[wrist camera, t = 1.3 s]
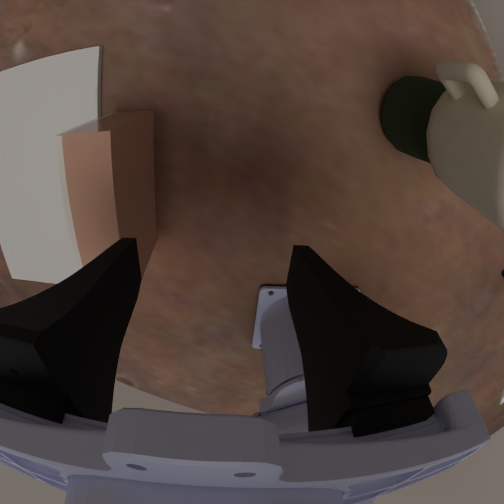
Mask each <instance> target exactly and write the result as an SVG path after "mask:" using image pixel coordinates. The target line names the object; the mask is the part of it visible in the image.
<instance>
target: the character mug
mask: <svg viewBox="0 0 504 504" xmlns="http://www.w3.org/2000/svg"><path fill="white" fill-rule="evenodd" d="M434 71H435V73H436V75H437V77H438V78H439V80H440V81H441V83H440V82H438V81H435V80H431V79H428V78H424V77H416V76H405V77H404V78H402V79H401V80H399V81H398V82H397V83H395V84H394V85H393V86H392V88H391V89H390V91H389V93H388V95H387V97H386V98H385V100H384V106H383V113H382V123H383V126H384V130H385V134H386V137H387V138H388V139H389V141H390V142H391V143H392V144H393V145H394V146H395V148H396V149H397V150H399V151H401V152H404V153H406V154H408V155H411V156H413V157H416V158H418V159H421V160H423V161H426V162H429V163H431V165H432V167H433V170H434V172H435V175H436V176H437V177H438V178H439V179H440V180H441V181H442V182H443V183H444V184H445V185H446V186H447V187H448V188H449V189H451V190H452V191H453V192H454V193H455V194H456V195H458V196H459V197H460V198H462V199H463V200H465V201H466V202H467V203H469V204H470V205H471V206H472V207H474V208H475V209H476V210H478V211H479V212H480V213H481V214H483V215H484V216H485V217H486V218H488V219H489V220H490V221H491V222H493V223H494V224H495V225H496V226H497V227H499V228H500V229H501V230H502V231H503V232H504V82H498V81H494V80H490V79H489V78H488V76H487V74H486V73H485V72H484V70H483V69H482V68H481V67H480V66H479V65H477V64H475V63H473V62H466V61H454V60H443V61H439V62H437V63H435V65H434Z"/></svg>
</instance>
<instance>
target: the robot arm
mask: <svg viewBox="0 0 504 504" xmlns="http://www.w3.org/2000/svg"><path fill="white" fill-rule="evenodd" d="M141 280H142V277H141V270H140V263H139V256H138V248H137V240H136V238H121V239H119V240H118V241H117V242H115V243H114V244H113V245H111V246H110V247H109V248H107V249H106V250H105V251H104V252H102V253H101V254H100V255H98V256H97V257H96V258H95V259H93V260H92V261H91V262H89V263H88V264H86V265H85V266H84V267H82V268H81V269H79V270H78V271H77V272H75V273H74V274H72V275H71V276H69V277H68V278H66V279H65V280H63V281H61V282H60V283H58V284H56V285H54V286H53V287H51V288H49V289H47V290H45V291H43V292H41V293H39V294H37V295H35V296H32V297H30V298H28V299H26V300H23V301H20V302H18V303H15V304H12V305H10V306H6V307H3V308H0V462H2V463H4V464H5V465H7V466H9V467H12V468H13V469H15V470H17V471H19V472H21V473H23V474H26V475H28V476H30V477H32V478H34V479H37V480H39V481H41V482H43V483H46V484H48V485H51V486H54V487H56V488H58V489H61V490H64V491H66V492H67V493H66V500H65V504H373V503H374V501H375V500H376V499H377V498H378V497H379V496H380V495H384V494H387V493H390V492H392V491H395V490H398V489H401V488H403V487H406V486H409V485H412V484H414V483H417V482H419V481H421V480H424V479H427V478H429V477H431V476H434V475H436V474H438V473H441V472H443V471H445V470H447V469H450V468H452V467H454V466H455V465H457V464H458V463H460V462H461V461H463V460H464V459H465V458H467V457H469V456H470V455H471V454H473V453H474V452H476V451H477V450H479V449H480V448H481V447H483V446H484V445H485V444H486V443H488V442H489V441H490V439H491V438H490V436H489V433H488V431H487V428H486V426H485V424H484V422H483V419H482V417H481V415H480V413H479V411H478V408H477V406H476V404H475V402H474V400H473V398H472V396H471V394H470V392H469V390H468V389H465V390H462V391H459V392H456V393H453V394H449V395H447V396H445V397H444V398H442V399H441V400H440V401H439V402H438V403H437V404H436V405H435V407H434V408H433V406H432V404H431V402H430V399H429V397H428V395H430V393H431V388H430V386H429V384H428V383H429V382H430V381H431V380H432V379H433V377H434V376H435V375H436V374H437V372H438V371H439V370H440V368H441V367H442V365H443V364H444V362H445V360H446V357H447V349H446V347H445V345H444V344H443V342H442V340H441V338H440V337H439V335H438V333H437V332H436V331H434V330H432V329H429V328H426V327H424V326H421V325H418V324H416V323H413V322H411V321H409V320H407V319H405V318H403V317H400V316H398V315H396V314H395V313H393V312H391V311H389V310H387V309H386V308H384V307H382V306H380V305H379V304H377V303H375V302H374V301H372V300H371V299H369V298H368V297H367V296H365V295H364V294H362V293H361V291H360V289H359V288H354V287H353V286H352V285H351V284H349V283H348V282H347V281H346V280H345V279H343V278H342V277H341V276H340V275H339V274H338V273H337V272H336V271H334V270H333V269H332V268H331V267H330V266H329V265H328V264H327V263H326V262H325V261H324V260H323V259H322V258H321V257H320V256H319V255H318V254H317V253H316V252H315V251H314V250H312V249H311V248H310V247H309V246H302V245H294V246H293V252H292V257H291V262H290V267H289V272H288V277H287V282H286V287H281V286H263V287H261V288H260V290H259V296H258V303H257V310H256V318H255V325H254V332H253V339H252V347H253V348H257V349H262V354H263V364H264V373H265V383H266V393H267V397H265V398H262V399H260V412H257V413H254V414H253V415H252V416H248V415H231V414H200V413H184V412H172V411H161V410H153V409H143V408H122V409H120V410H118V411H115V412H113V413H112V401H113V391H114V383H115V377H116V370H117V364H118V359H119V354H120V349H121V345H122V341H123V338H124V335H125V332H126V329H127V327H128V324H129V321H130V318H131V315H132V312H133V310H134V307H135V304H136V301H137V298H138V293H139V289H140V284H141ZM269 291H273V292H272V293H269Z"/></svg>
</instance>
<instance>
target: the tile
mask: <svg viewBox="0 0 504 504" xmlns="http://www.w3.org/2000/svg"><path fill="white" fill-rule="evenodd" d="M55 142H56V153H57V162H58V171H59V179H60V186H61V192H62V199H63V205H64V210H65V216H66V221H67V226H68V231H69V235H70V240H71V244H72V249H73V253H74V257H75V261H76V265H77V269H78V270H79V269H81V268H82V267H84V266H85V265H86V264H88V263H89V262H91V261H92V260H93V259H95V258H96V257H97V256H98V255H100V254H101V253H102V252H104V251H105V250H106V249H107V248H109V247H110V246H111V245H113V244H114V243H115V242H117V241H118V240H119V239H121V238H136V240H137V248H138V256H139V263H140V270H141V277H142V278H143V275H144V272H145V270H146V267H147V264H148V262H149V259H150V257H151V254H152V252H153V249H154V247H155V244H156V242H157V239H158V236H157V222H156V204H155V179H154V110H146V111H125V112H113V113H110V114H108V115H105V116H102V117H100V118H97V119H94V120H92V121H89V122H87V123H84V124H82V125H79V126H77V127H74V128H72V129H70V130H67V131H65V132H63V133H61V134H58V135H56V136H55Z"/></svg>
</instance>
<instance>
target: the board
mask: <svg viewBox="0 0 504 504" xmlns="http://www.w3.org/2000/svg"><path fill="white" fill-rule="evenodd" d="M102 50H103V46H96V47H90V48H85V49H80V50H75V51H70V52H66V53H61V54H57V55H53V56H49V57H45V58H42V59H38V60H35V61H31V62H28V63H25V64H22V65H18V66H15V67H12V68H9V69H7V70H4V71H1V72H0V244H1V248H2V251H3V254H4V257H5V260H6V262H7V265H8V268H9V271H10V273H11V276H12V278H14V279H22V280H30V281H38V282H47V283H56V284H58V283H60V282H61V281H63V280H65V279H66V278H68V277H69V276H71V275H72V274H74V273H75V272H77V271H78V269H77V265H76V261H75V257H74V253H73V249H72V244H71V240H70V235H69V231H68V226H67V221H66V216H65V210H64V205H63V199H62V192H61V186H60V179H59V171H58V162H57V153H56V142H55V136H56V135H58V134H61V133H63V132H65V131H67V130H70V129H72V128H74V127H77V126H79V125H82V124H84V123H87V122H89V121H92V120H94V119H97V118H100V117H101V69H102Z"/></svg>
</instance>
